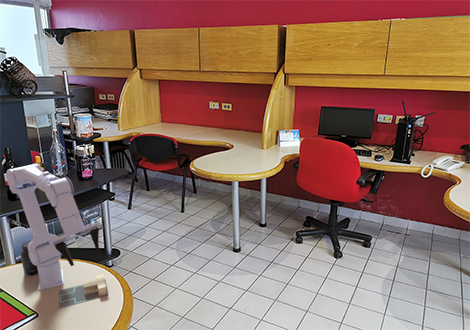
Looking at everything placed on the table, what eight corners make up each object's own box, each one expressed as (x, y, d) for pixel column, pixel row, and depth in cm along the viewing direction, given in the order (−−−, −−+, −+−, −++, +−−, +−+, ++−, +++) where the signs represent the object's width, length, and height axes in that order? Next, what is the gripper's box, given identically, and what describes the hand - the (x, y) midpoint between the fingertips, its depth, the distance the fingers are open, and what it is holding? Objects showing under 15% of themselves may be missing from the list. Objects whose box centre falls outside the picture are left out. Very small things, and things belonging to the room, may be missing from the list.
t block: (83, 286, 126) (82, 279, 125) (104, 280, 129) (103, 274, 128) (85, 299, 119) (84, 292, 118) (106, 294, 122) (105, 286, 121)
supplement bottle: (26, 267, 136) (20, 240, 132) (45, 264, 138) (40, 237, 135) (22, 277, 130) (16, 249, 126) (43, 274, 132) (37, 246, 128)
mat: (59, 291, 123) (59, 290, 123) (105, 279, 130) (105, 279, 130) (59, 309, 115) (59, 308, 115) (108, 296, 121) (108, 295, 121)
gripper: (41, 227, 98) (58, 272, 97) (94, 207, 103) (110, 250, 103) (45, 226, 104) (61, 269, 104) (94, 208, 110) (110, 248, 109)
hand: (86, 259), depth 104 cm, fingers open, 7 cm apart
